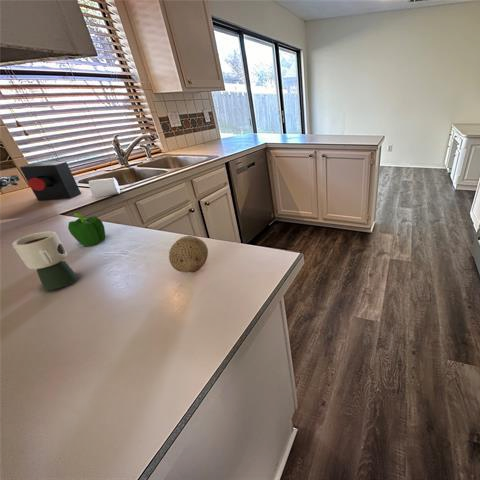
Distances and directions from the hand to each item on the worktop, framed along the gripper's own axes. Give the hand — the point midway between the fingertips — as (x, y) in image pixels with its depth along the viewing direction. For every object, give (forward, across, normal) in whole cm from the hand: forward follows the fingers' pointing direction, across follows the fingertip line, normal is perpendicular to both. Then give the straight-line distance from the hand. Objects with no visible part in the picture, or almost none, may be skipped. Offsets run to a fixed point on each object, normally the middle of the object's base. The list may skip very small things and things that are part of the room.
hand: (16, 177), depth 108 cm
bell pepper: (-42, -45, +15) cm, 64 cm away
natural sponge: (-68, -81, +15) cm, 107 cm away
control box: (+17, 0, +14) cm, 22 cm away
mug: (+16, -22, +14) cm, 31 cm away
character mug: (-66, -50, +15) cm, 84 cm away
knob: (+10, 0, +8) cm, 13 cm away
